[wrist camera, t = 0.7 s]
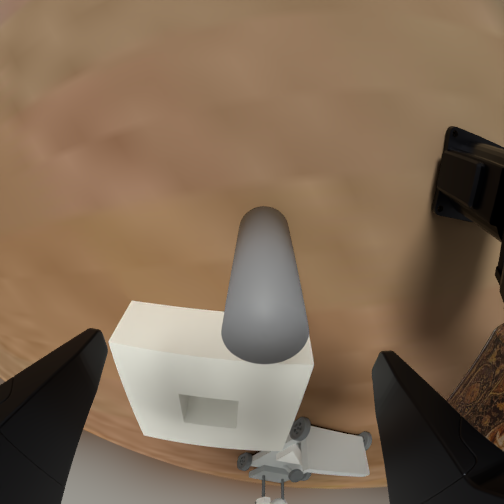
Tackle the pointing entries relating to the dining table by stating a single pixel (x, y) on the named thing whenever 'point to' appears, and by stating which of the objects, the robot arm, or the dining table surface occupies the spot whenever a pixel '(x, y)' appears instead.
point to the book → (484, 391)
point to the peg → (264, 292)
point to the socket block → (204, 381)
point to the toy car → (308, 457)
